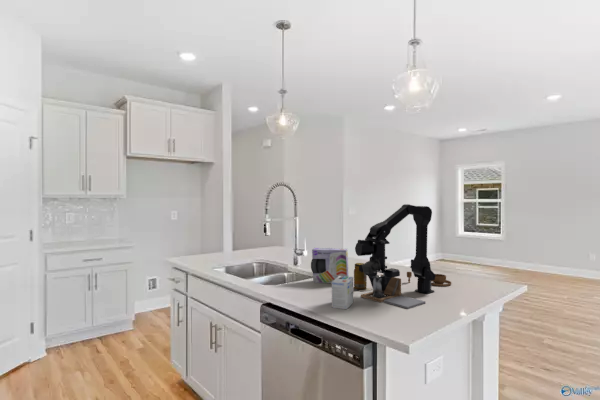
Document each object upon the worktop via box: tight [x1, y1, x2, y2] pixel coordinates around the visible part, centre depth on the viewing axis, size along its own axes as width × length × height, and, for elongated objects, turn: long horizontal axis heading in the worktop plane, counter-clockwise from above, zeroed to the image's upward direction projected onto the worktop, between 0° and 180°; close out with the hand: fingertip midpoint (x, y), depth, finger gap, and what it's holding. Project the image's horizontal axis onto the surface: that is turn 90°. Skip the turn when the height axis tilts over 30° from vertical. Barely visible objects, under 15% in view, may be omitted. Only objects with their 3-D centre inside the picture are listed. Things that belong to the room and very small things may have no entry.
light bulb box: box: [331, 276, 354, 310], centre depth 149 cm, size 11×7×11 cm, turn 159°
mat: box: [383, 294, 426, 310], centre depth 152 cm, size 12×12×1 cm
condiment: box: [353, 262, 373, 292], centre depth 175 cm, size 7×8×12 cm
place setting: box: [406, 271, 452, 287], centre depth 187 cm, size 18×20×6 cm
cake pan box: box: [310, 247, 350, 284], centre depth 188 cm, size 19×5×18 cm, turn 71°
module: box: [372, 274, 386, 298], centre depth 160 cm, size 5×5×9 cm
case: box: [360, 274, 402, 303], centre depth 161 cm, size 14×11×8 cm
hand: (378, 289), depth 160 cm, fingers closed on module, 5 cm apart
